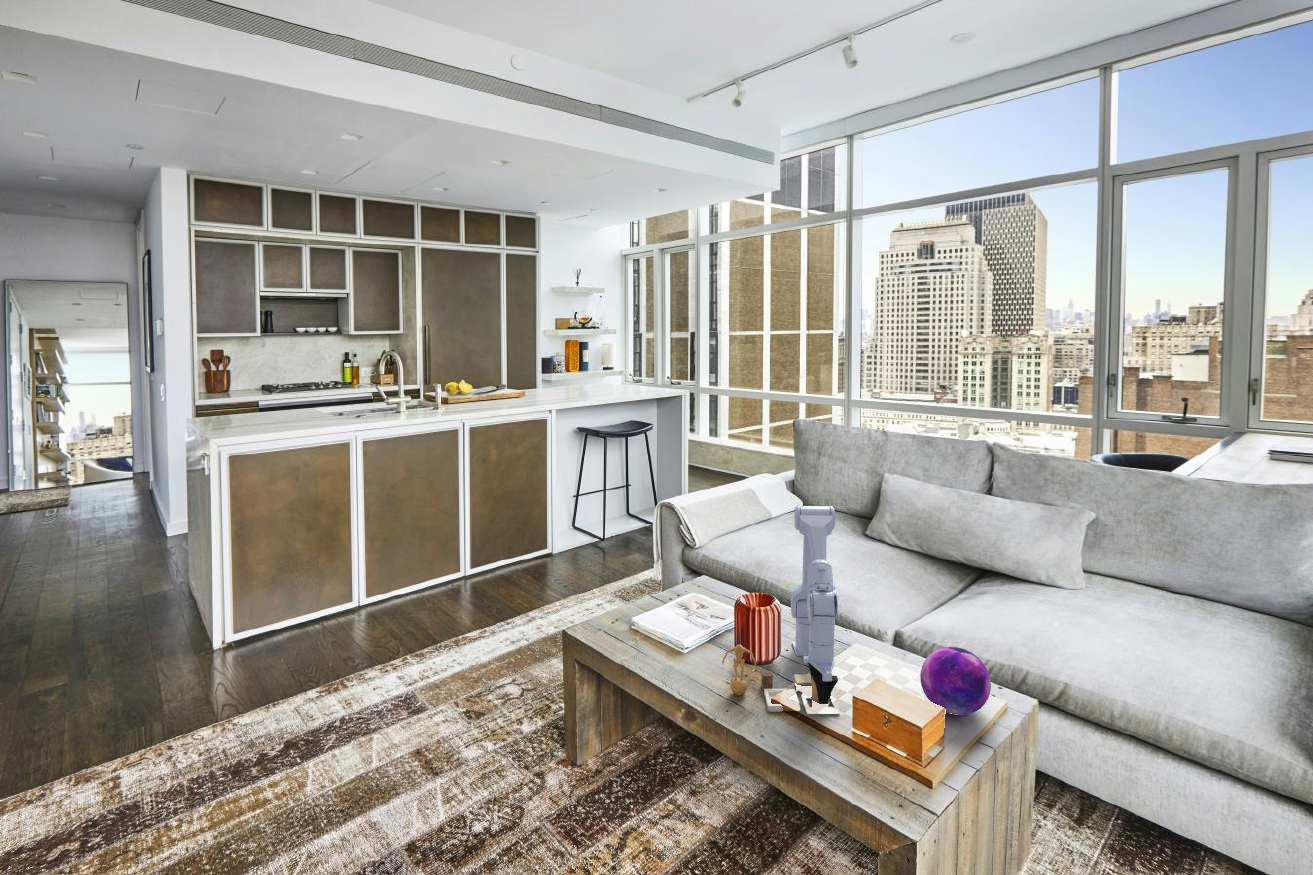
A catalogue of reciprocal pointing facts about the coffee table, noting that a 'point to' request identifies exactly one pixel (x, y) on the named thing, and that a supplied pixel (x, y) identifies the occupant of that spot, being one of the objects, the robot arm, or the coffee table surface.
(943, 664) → the decorative orb
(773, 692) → the tray
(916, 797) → the coffee table surface
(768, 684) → the brown rectangular block
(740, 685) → the figurine
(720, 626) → the coffee table surface
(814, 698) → the dowel
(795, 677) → the cream rectangular block
